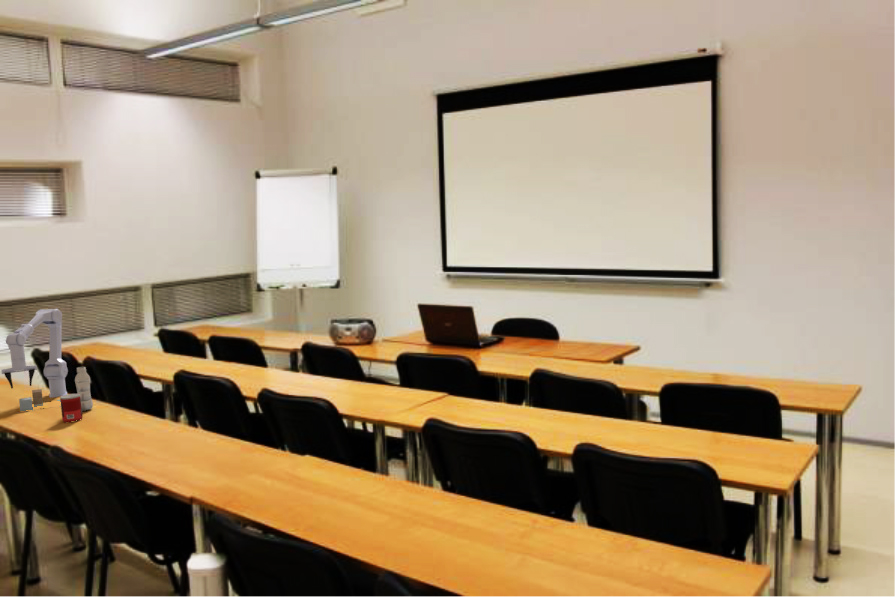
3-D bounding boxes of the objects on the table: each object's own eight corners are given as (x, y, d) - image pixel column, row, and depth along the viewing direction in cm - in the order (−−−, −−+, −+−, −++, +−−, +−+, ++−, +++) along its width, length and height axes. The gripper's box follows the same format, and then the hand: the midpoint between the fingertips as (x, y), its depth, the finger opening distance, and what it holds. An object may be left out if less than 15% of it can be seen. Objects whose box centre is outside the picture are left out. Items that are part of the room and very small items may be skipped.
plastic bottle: (74, 412, 348) (69, 369, 346) (85, 408, 355) (80, 366, 352) (85, 412, 346) (81, 369, 344) (96, 408, 353) (92, 366, 350)
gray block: (20, 409, 358) (19, 398, 357) (32, 407, 360) (31, 397, 359) (20, 411, 353) (19, 400, 353) (32, 409, 356) (31, 399, 355)
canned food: (86, 418, 335) (83, 394, 334) (69, 423, 328) (66, 398, 327) (76, 417, 339) (73, 392, 338) (59, 421, 332) (56, 397, 331)
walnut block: (33, 404, 366) (32, 390, 365) (43, 403, 368) (41, 388, 367) (33, 407, 361) (32, 392, 360) (43, 405, 363) (41, 391, 362)
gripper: (0, 361, 351) (3, 390, 352) (35, 357, 358) (38, 385, 359) (0, 359, 357) (3, 388, 358) (35, 355, 364) (38, 383, 365)
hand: (21, 386), depth 359 cm, fingers open, 7 cm apart
